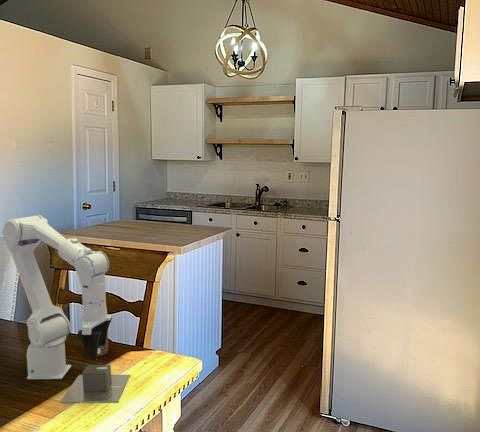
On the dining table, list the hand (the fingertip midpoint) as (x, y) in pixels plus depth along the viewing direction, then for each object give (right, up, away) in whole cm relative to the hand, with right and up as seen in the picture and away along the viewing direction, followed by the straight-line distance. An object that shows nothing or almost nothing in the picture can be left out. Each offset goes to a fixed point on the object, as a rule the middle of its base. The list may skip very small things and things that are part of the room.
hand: (96, 351), depth 127 cm
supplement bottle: (-6, -7, +22) cm, 24 cm away
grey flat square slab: (0, -10, +1) cm, 10 cm away
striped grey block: (0, -9, 0) cm, 9 cm away
